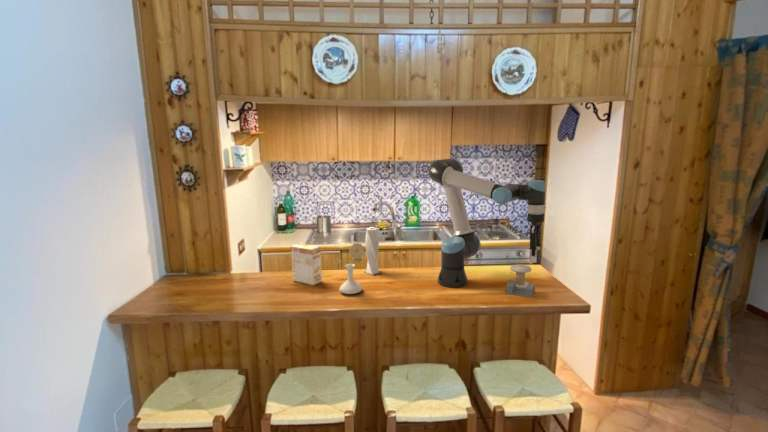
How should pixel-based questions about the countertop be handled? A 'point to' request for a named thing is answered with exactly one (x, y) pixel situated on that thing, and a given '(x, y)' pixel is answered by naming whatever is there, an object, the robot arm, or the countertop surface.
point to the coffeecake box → (306, 263)
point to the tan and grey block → (537, 254)
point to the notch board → (520, 292)
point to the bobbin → (520, 275)
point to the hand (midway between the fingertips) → (534, 260)
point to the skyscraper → (372, 250)
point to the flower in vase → (350, 284)
